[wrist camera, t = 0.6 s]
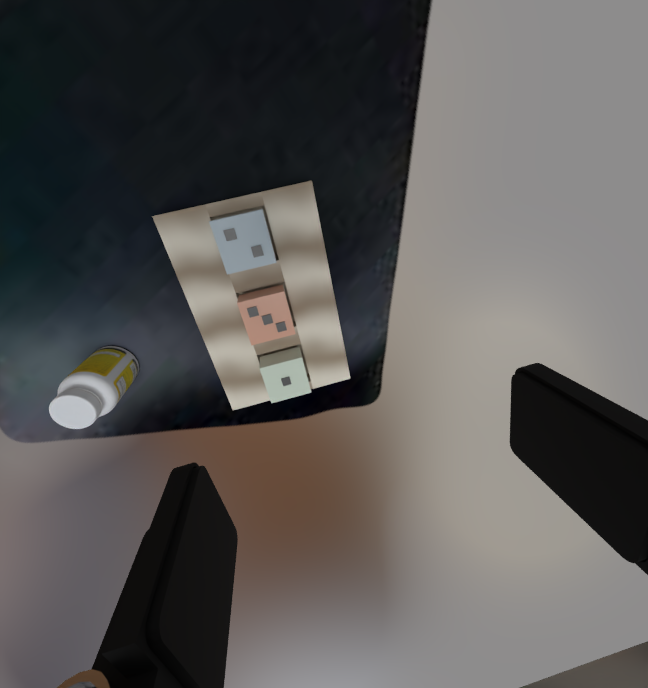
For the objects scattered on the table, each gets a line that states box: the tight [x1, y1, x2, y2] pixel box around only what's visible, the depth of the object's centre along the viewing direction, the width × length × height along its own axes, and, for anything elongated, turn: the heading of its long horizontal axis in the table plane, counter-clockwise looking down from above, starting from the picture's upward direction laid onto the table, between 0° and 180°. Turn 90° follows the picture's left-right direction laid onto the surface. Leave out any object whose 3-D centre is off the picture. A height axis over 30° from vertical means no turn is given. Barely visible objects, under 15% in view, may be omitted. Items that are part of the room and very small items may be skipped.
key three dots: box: [237, 285, 296, 345], centre depth 35 cm, size 5×5×3 cm
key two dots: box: [209, 209, 277, 275], centre depth 31 cm, size 5×5×3 cm
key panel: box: [152, 181, 350, 410], centre depth 37 cm, size 24×16×3 cm, turn 12°
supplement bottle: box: [49, 346, 139, 429], centre depth 34 cm, size 5×5×10 cm
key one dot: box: [259, 347, 311, 403], centre depth 38 cm, size 5×5×3 cm
